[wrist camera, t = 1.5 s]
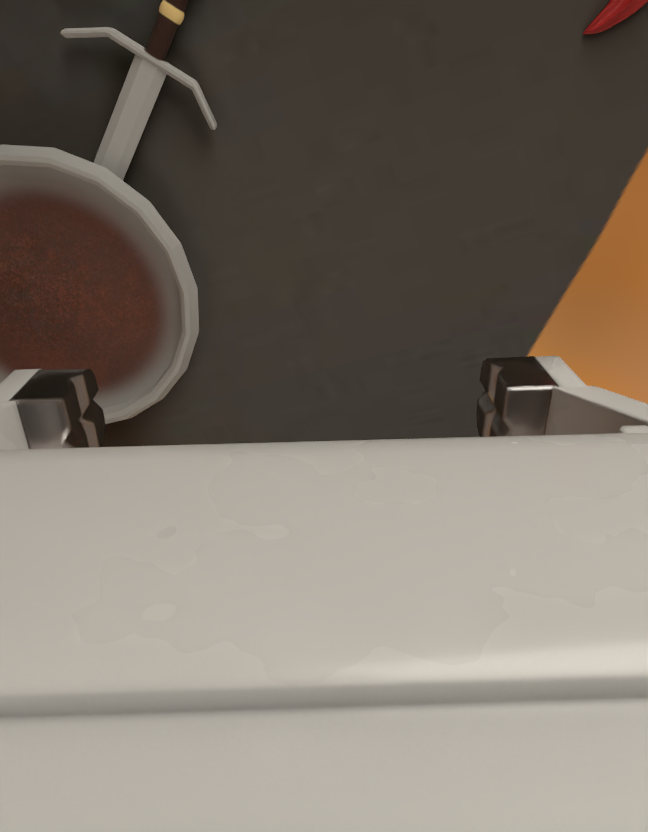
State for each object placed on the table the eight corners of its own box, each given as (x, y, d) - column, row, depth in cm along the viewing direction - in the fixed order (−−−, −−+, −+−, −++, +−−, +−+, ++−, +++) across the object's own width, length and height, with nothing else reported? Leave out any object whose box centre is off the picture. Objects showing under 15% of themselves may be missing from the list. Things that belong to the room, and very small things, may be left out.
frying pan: (354, 56, 30) (130, 476, 41) (349, 58, 32) (140, 453, 43) (0, -192, 25) (-144, 358, 36) (27, -167, 28) (-114, 339, 39)
